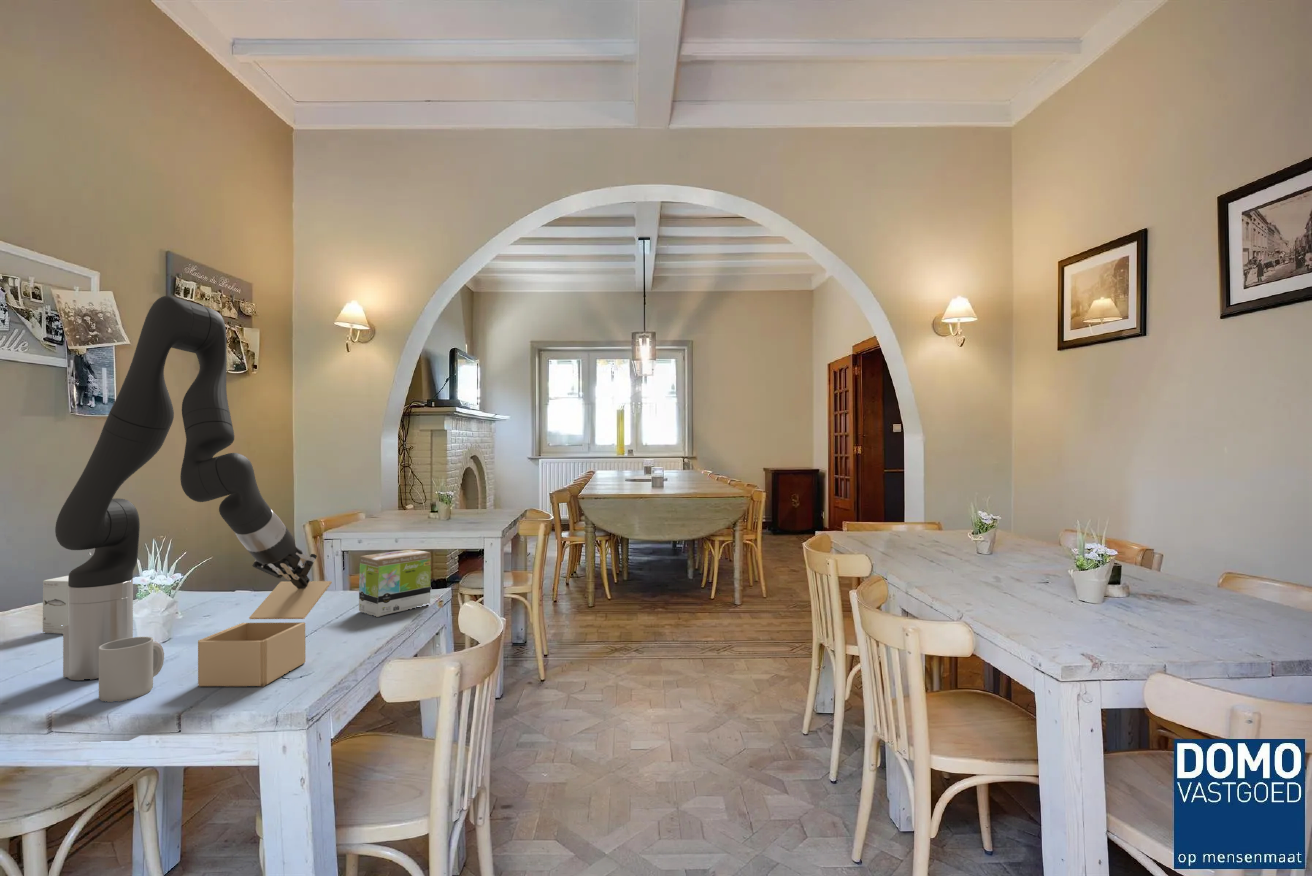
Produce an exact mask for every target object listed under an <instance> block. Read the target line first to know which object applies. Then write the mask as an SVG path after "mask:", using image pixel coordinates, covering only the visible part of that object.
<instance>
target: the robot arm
mask: <svg viewBox="0 0 1312 876" xmlns="http://www.w3.org/2000/svg"><path fill="white" fill-rule="evenodd" d="M171 349H176V350H180V351H185V352H188V353H192V354H195V355H196V357H197V360H198V364H199V369H198V373H197V375H196V377H195V379H194V380H193V382H192V383H191V385H190V386H189V388H188V389H187V391H186V393H185V394H184V396H183V399H182V401H181V402H182V403H181V416H182V422H183V428H184V433H185V440H186V441H185V447H184V452H183V453H184V455H183V459H182V464H181V469H180V485H181V488H182V491H183V492H184V494H185V495H186V496H187V497H188V498H189V499H191V500H192V501H195V502H197V503H205V502H209V501H213V500H216V499H220V498H223V497H225V498H224V499H222V501H221V502H220V504H219V508H218V512H219V515H220V517H221V518H222V519H223V520H224V521H225V523H226V524H227V526H228V527H229V528H230V529H231V530H232V531H233V532H234V534H235V536H236V539H238V541H239V542H240V543H241V544H242V546H244V549H246V551H247V552H248V553H249V554H250V555H251V556H252V558H253V559H254V561H253V563H252V567H253V568H255V569H257V570H259V571H261V572H264V573H266V574H268V575H269V576H272V577H275V578H277V579H281V578H282V577H283V578H284V579H286V580H287V581H291V582H292V583H293V585H294V586H296V587H297V588H298V589H305V588H306V587H307V585H308V583H309V581H311V580H310V577H308V574H309V572H310V570H311V569H312V567H313V565H314V563H315V561H316V559H317V557H318V556H317V554H315V553H311V554H310V555H306V554H303V551H302V550H301V549H300V548H298V547H297V546H296V545H297V544H296V540H295V537H294V536H293V534H292V533H291V531H290V530H289V529H288V528H287V526H286V525H285V524H284V522H283V521H282V519H281V518H280V516H278V515H277V513H275V512H274V511H273V509H271V508H272V507H270V505H269V504H268V503H267V501H266V500H265V499H264V497H263V496H262V494H261V491H260V489H259V487H258V484H257V483H258V482H257V479H256V476H255V475H256V474H255V470H254V468H253V467H254V466H253V464H252V462H251V461H250V459H249V458H248V457H246V456H245V455H243V454H241V453H239V452H238V453H237V452H228V453H224V454H222V455H219V456H215V455H216V454H218V453H220V452H221V451H223V450H225V449H226V448H228V447H230V446H231V445H232V444H233V442H234V441H235V431H234V426H233V423H232V422H233V421H232V417H231V411H230V407H229V401H228V394H227V393H228V392H227V366H228V364H227V362H228V359H227V357H228V355H227V354H228V353H227V351H228V350H227V329H226V323H225V320H224V318H223V316H222V315H221V313H219V312H218V311H216V310H215V309H213V308H210V307H208V306H204V305H201V304H199V303H194V302H193V301H192V302H191V301H188V300H185V299H181V298H178V297H175V296H170V295H163V296H161V297H159V298H157V299H156V300H155V302H154V303H152V305H151V307H150V308H149V309H148V312H147V313H146V317H145V319H144V322H143V324H142V329H141V330H140V334H139V338H138V341H137V344H136V348H135V350H134V354H133V357H132V360H131V364H130V366H129V368H128V371H127V373H126V375H125V378H124V380H123V382H122V386H121V388H120V389H119V392H118V394H117V397H116V398H115V401H114V403H113V404H112V406H111V409H110V411H109V413H108V416H107V417H106V420H105V422H104V425H103V427H102V429H101V432H100V435H99V438H98V440H97V442H96V444H95V446H94V449H93V451H92V453H91V455H90V456H89V459H88V461H87V464H86V465H85V467H84V469H83V471H82V473H81V474H80V477H79V478H78V480H77V482H76V483H75V485H74V486H73V489H71V492H70V494H69V495H68V496H67V498H66V500H65V501H64V503H63V505H62V507H61V509H60V511H59V513H58V516H57V518H56V522H55V528H54V530H55V531H54V532H55V538H56V541H57V542H58V543H59V545H60V546H61V547H62V548H64V549H66V550H69V551H70V550H71V551H86V550H93V549H94V553H93V554H92V556H91V557H90V558H89V559H88V560H86V561H85V562H84V563H82V564H80V565H79V566H77V567H75V568H73V569H72V570H71V571H70V572H69V573H68V576H69V578H68V586H69V588H68V602H69V625H67V626H65V627H64V628H63V635H62V636H63V637H62V640H63V641H62V648H63V649H62V650H63V651H62V677H63V678H67V679H68V680H71V681H85V680H84V679H90V680H95V679H99V647H100V646H101V645H103V644H106V643H109V642H112V641H116V640H121V639H126V638H133V637H134V579H133V578H134V570H135V568H136V566H137V564H138V558H139V545H140V544H139V543H140V531H141V530H140V527H141V525H140V516H139V512H138V510H137V507H136V506H135V505H134V504H133V503H132V502H131V501H130V500H128V499H125V498H120V497H119V498H118V497H117V498H114V496H115V495H116V493H117V491H118V490H119V489H120V488H121V487H122V485H123V484H124V483H125V481H127V480H128V479H130V477H131V476H132V475H133V474H135V473H136V472H137V471H138V470H140V469H141V468H142V467H144V465H145V464H147V463H148V462H149V461H150V460H151V459H152V458H153V457H155V455H157V454H158V452H159V451H160V450H161V448H162V447H163V445H164V443H165V440H166V439H167V435H169V434H168V433H169V431H170V428H171V427H172V426H173V425H172V424H173V421H174V417H175V412H174V410H175V409H174V406H173V402H172V398H171V395H170V393H169V390H168V387H167V383H166V381H165V379H166V378H165V372H164V371H165V365H166V361H167V358H168V355H169V353H170V350H171ZM130 580H131V582H130Z"/></svg>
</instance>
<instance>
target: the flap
mask: <svg viewBox="0 0 1312 876" xmlns="http://www.w3.org/2000/svg"><path fill="white" fill-rule="evenodd" d="M331 584H332V580H320V581H319V580H318V581H317V580H315V581H311V580H310V581H309V583H308V585H307V587H306V588H305V589H298V588H297V587H296V586H294V585H293V583H292V582H291V581H290V580H287V581H279V583H278V584H277V585H275V587H274V589H273V590H272V591H271V592H270V593H269V594H268V595H267V596H266V598H265V599H264V600H263V601H262V602H261V604H260V605H259V606H258V607H257V608H256V609H255V610H254V611H253V612H252V614H251V615H249V617H248V619H249V620H305V618H306V617H307V616H308V615H309V613H310V612H311V610H313V608H314V607H315V605H316V604H317V603H318V602H319V600H320V599H321V597H323V595H324V594H325V592H326V591H327V590H328V588H329V587H330V586H331Z"/></svg>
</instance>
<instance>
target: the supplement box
mask: <svg viewBox="0 0 1312 876" xmlns="http://www.w3.org/2000/svg"><path fill="white" fill-rule="evenodd" d="M68 578H69V575H65V576H59V577H54V578H49V579H44V580H43V581H42V633H43V632H45V633H44V634H63V628H64V627H65V626H67V625H69V602H68V588H69V586H68ZM61 625H63V626H61Z"/></svg>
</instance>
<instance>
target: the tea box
mask: <svg viewBox="0 0 1312 876" xmlns="http://www.w3.org/2000/svg"><path fill="white" fill-rule="evenodd" d="M431 556H432V553H431V552H430V551H424V550H419V549H411V548H410V549H404V550H403V549H402V550H395V551H390V552H381V553H374V554H367V555H365V554H364V555H360V556H359V574H358V575H359V576H358V577H359V578H358V580H359V582H358V584H359V585H358V588H359V589H358V612H360V613H363V612H364V613H363V614H366V613H367V614H366V615H368V616H369V615H370V616H372V615H374V616H373V617H375V616H376V618H379V617H383V616H387V615H390V614H395V613H399V612H404V611H408V609H410V610H413V609H412V608H415V607H417V606H422V605H423V604H427V603H430V604H431V590H432V589H431V582H432V581H431V570H432V569H431V567H432V563H431V562H432V558H431ZM415 609H416V608H415Z"/></svg>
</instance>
